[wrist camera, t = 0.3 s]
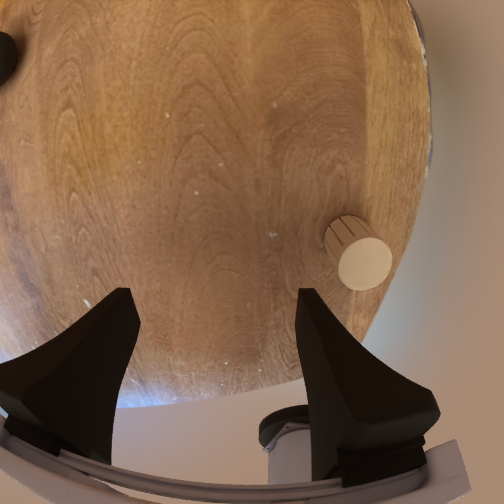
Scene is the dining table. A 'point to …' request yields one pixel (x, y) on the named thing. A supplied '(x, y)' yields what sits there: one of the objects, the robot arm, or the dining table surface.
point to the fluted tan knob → (357, 253)
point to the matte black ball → (6, 56)
